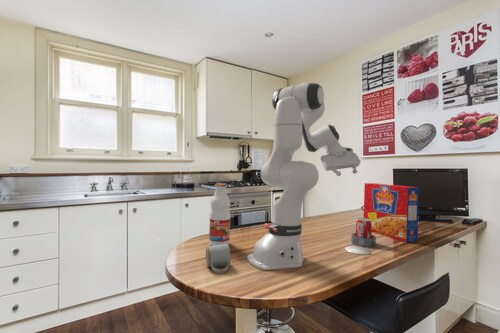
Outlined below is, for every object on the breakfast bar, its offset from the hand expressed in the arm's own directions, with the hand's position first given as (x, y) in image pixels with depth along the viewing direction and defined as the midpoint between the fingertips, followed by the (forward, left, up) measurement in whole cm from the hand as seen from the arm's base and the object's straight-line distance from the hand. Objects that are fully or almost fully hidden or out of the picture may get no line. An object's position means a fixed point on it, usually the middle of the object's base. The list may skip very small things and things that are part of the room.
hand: (347, 174), depth 130 cm
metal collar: (+1, -10, -34) cm, 35 cm away
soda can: (+1, -10, -34) cm, 35 cm away
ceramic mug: (-73, -8, -34) cm, 81 cm away
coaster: (-10, -16, -34) cm, 38 cm away
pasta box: (+29, -4, -34) cm, 45 cm away
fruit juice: (-64, +16, -34) cm, 74 cm away
